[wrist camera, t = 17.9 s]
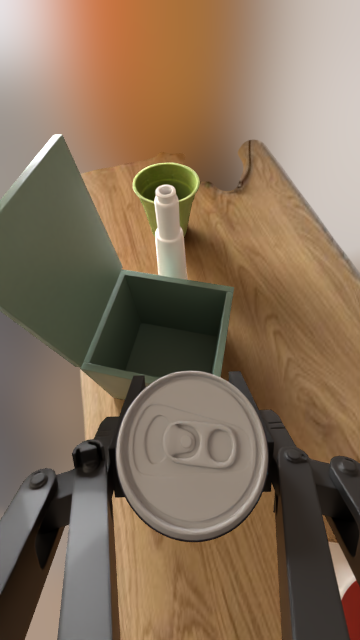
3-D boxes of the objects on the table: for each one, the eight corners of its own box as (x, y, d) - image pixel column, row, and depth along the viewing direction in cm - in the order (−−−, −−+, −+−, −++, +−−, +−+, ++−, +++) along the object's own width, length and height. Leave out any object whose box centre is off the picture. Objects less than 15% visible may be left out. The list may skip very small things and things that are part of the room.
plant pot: (201, 248, 54) (204, 199, 44) (144, 254, 53) (133, 207, 43) (193, 209, 59) (194, 158, 49) (141, 215, 59) (131, 165, 49)
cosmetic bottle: (152, 308, 47) (127, 200, 28) (167, 282, 50) (153, 168, 30) (183, 319, 46) (179, 215, 27) (196, 293, 48) (201, 180, 29)
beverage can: (157, 409, 21) (125, 353, 10) (230, 417, 20) (274, 367, 10) (144, 494, 18) (84, 538, 8) (228, 506, 18) (287, 569, 7)
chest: (221, 335, 44) (234, 287, 32) (208, 419, 38) (217, 398, 26) (138, 320, 46) (120, 269, 34) (113, 397, 40) (79, 368, 28)
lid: (62, 133, 20) (53, 134, 20) (-46, 270, 14) (-58, 269, 14) (123, 267, 34) (117, 266, 34) (81, 367, 27) (74, 366, 27)
